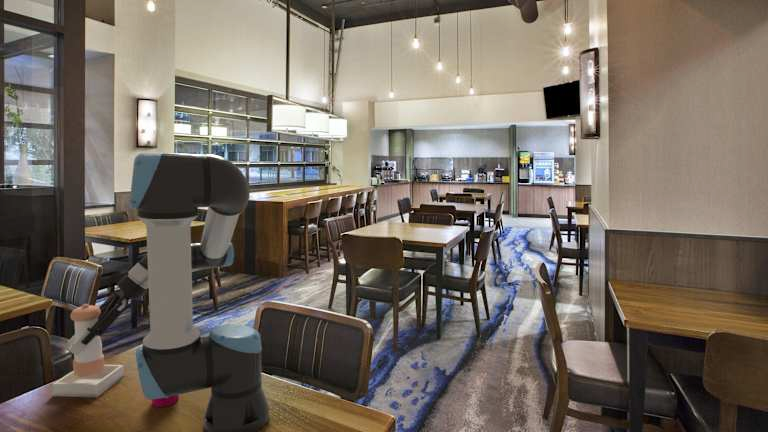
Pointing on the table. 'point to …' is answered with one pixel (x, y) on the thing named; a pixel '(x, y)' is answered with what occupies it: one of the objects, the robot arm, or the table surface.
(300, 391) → the table surface
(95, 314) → the pepper shaker
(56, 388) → the tray
